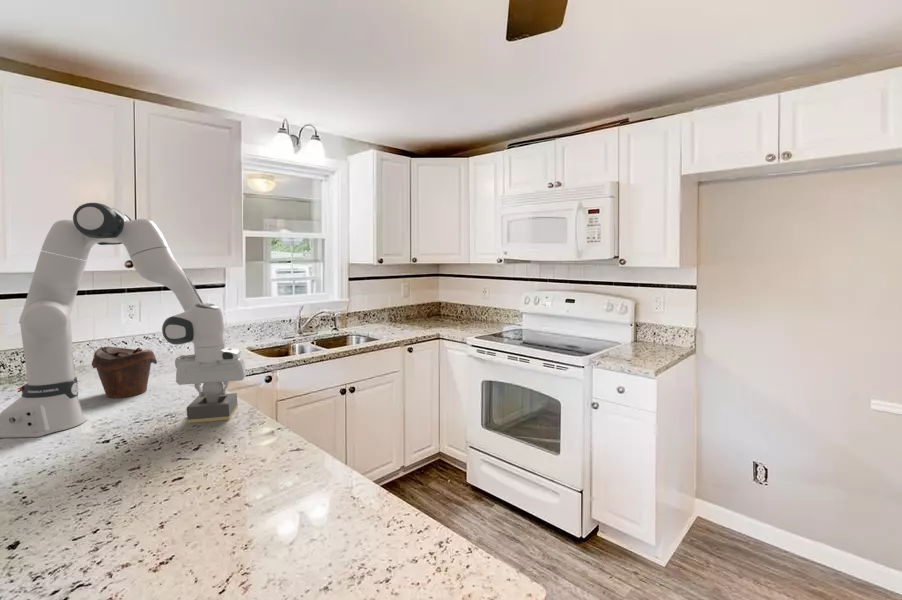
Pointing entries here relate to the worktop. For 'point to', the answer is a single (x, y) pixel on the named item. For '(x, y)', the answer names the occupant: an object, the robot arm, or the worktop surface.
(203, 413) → the socket block
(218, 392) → the lightbulb
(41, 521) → the worktop surface
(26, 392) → the robot arm
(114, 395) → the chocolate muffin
